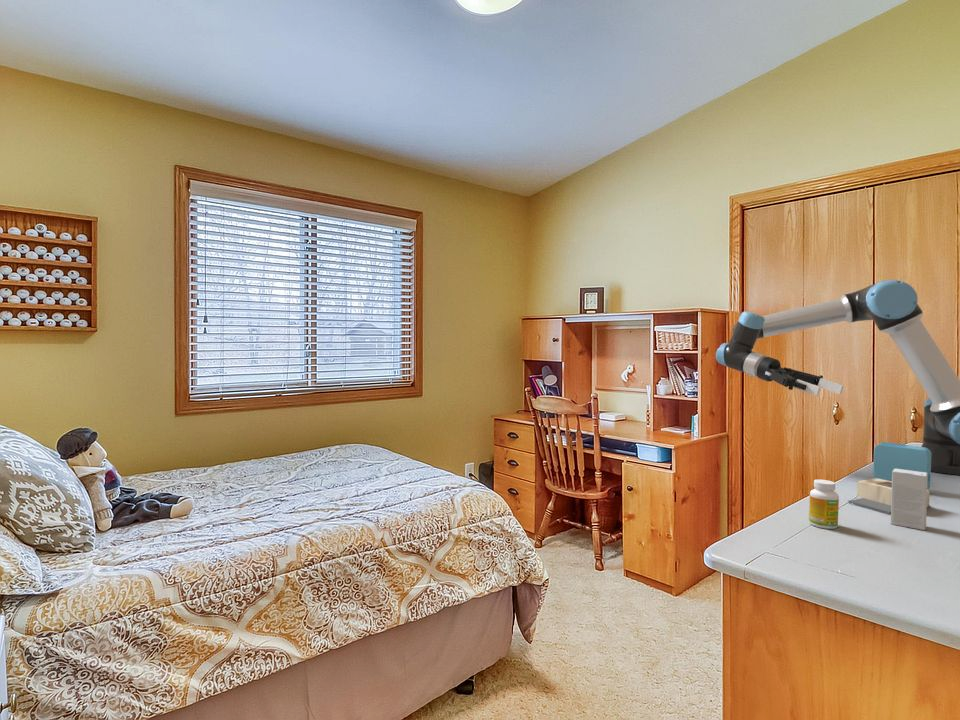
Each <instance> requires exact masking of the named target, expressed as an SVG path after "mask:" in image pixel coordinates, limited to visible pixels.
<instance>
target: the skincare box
mask: <svg viewBox="0 0 960 720" xmlns="http://www.w3.org/2000/svg"><path fill="white" fill-rule="evenodd" d="M927 478H928V473H926V472H918V471H911V470H903V469H894V470H893V471H892V497H891V514H890V525H894V526H900V527H906V528H911V529H915V530H919V531H921V530H922V531H925V530H926V526H927V512H928V511H927V510H928V507H927Z"/></svg>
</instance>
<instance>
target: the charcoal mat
mask: <svg viewBox="0 0 960 720" xmlns="http://www.w3.org/2000/svg"><path fill="white" fill-rule="evenodd" d="M848 502H849V503H848ZM847 503H848V504H850V503H853V504H855V506H857V505H858V506H857V507H861V508H864V507H865V508H864V509H868V510H871V509H872V511H876V512H879V513H883V514H885V515H890V516H891V505H887V504H884V503H880V502H876V501H872V500H869V499H865V498H861V497H860V498H856V499H851V500H848V501H847ZM853 504H852V505H853ZM929 507H930V503H929Z"/></svg>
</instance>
